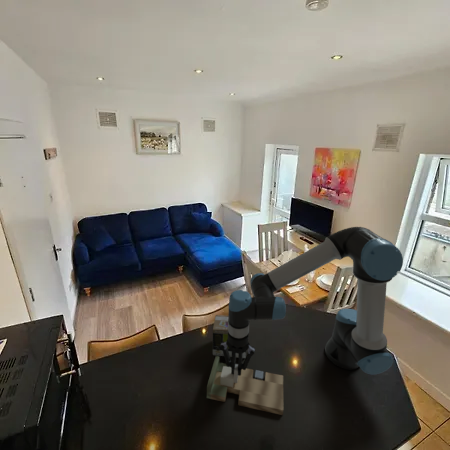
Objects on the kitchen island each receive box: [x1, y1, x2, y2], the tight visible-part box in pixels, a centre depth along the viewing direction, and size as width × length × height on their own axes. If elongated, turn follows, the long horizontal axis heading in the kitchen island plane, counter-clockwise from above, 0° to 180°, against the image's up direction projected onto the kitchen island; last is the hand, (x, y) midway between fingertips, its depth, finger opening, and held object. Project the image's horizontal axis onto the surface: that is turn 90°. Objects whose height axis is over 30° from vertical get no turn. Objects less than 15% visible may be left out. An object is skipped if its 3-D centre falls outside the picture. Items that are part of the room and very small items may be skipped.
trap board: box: [206, 355, 284, 416], centre depth 98 cm, size 28×14×6 cm, turn 78°
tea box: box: [212, 314, 247, 359], centre depth 115 cm, size 15×10×15 cm, turn 84°
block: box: [254, 369, 264, 381], centre depth 103 cm, size 3×3×3 cm
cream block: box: [220, 366, 234, 387], centre depth 99 cm, size 5×5×4 cm
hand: (235, 379), depth 99 cm, fingers closed
